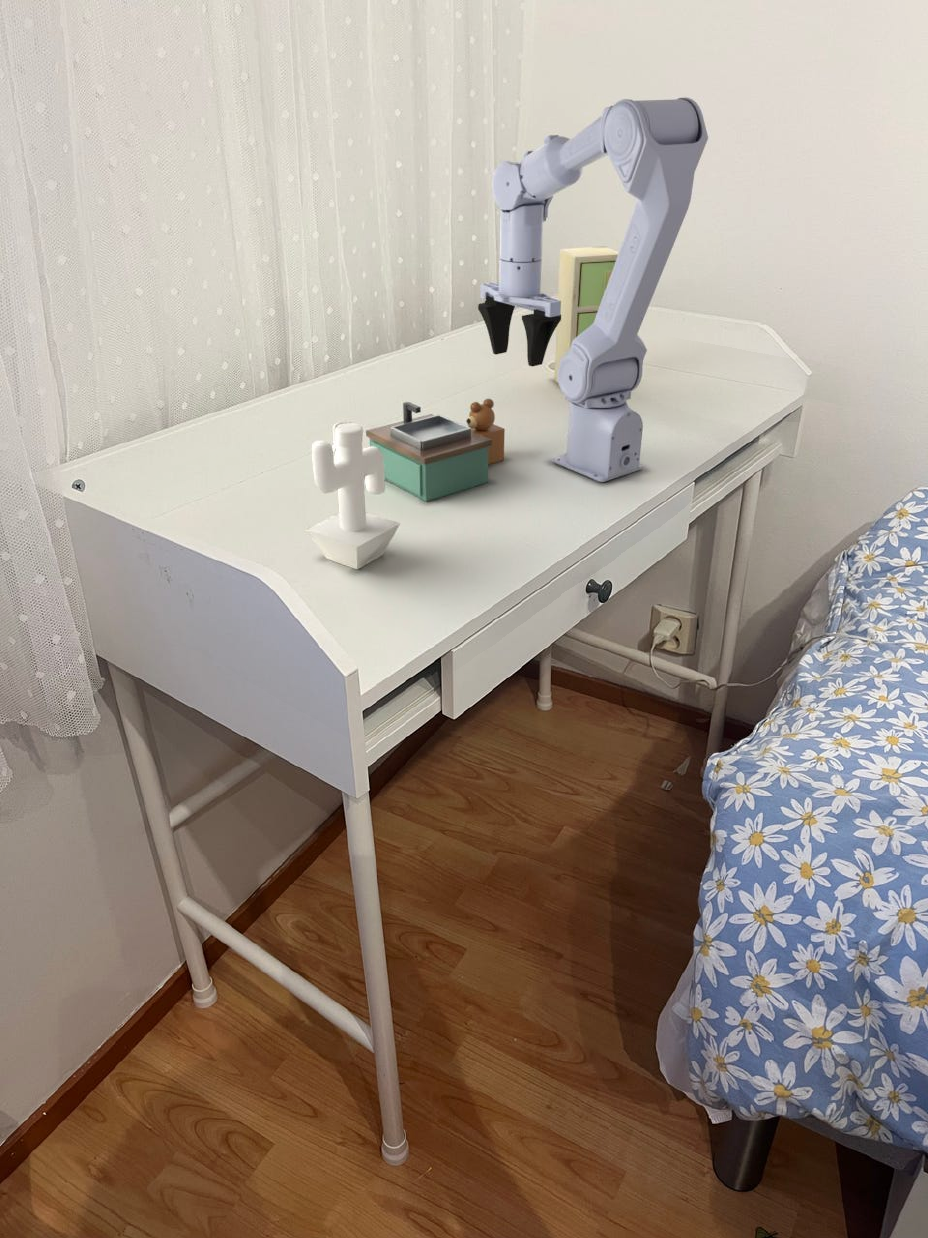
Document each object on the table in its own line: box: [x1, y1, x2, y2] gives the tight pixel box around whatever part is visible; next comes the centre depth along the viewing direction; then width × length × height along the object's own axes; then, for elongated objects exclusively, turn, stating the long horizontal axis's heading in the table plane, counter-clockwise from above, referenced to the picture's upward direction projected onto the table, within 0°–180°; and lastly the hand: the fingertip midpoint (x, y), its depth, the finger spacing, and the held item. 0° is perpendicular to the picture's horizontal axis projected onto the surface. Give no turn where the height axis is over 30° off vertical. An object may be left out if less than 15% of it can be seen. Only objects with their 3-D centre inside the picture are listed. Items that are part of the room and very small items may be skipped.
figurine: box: [305, 420, 401, 570], centre depth 103 cm, size 7×9×15 cm
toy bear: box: [465, 398, 506, 465], centre depth 129 cm, size 4×5×8 cm
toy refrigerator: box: [553, 246, 619, 385], centre depth 155 cm, size 8×7×21 cm
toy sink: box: [365, 401, 492, 502], centre depth 124 cm, size 13×11×9 cm
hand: (517, 358), depth 138 cm, fingers open, 7 cm apart
